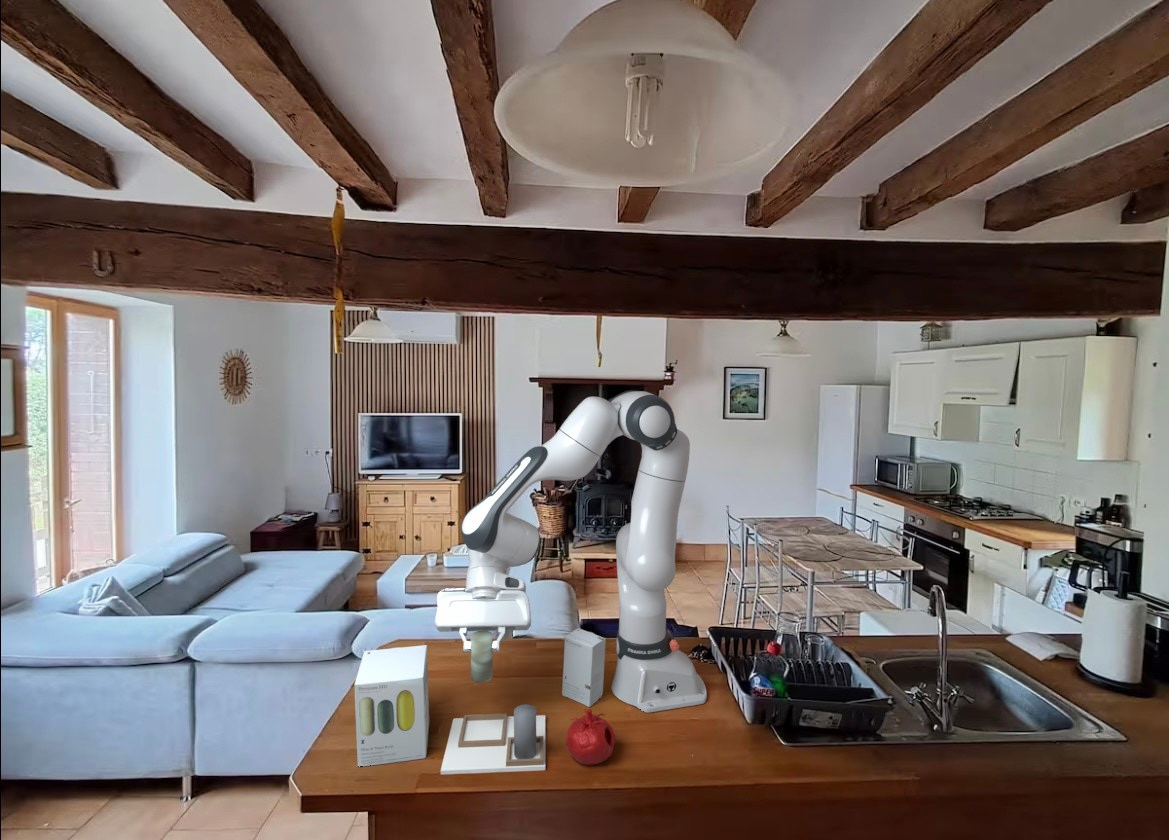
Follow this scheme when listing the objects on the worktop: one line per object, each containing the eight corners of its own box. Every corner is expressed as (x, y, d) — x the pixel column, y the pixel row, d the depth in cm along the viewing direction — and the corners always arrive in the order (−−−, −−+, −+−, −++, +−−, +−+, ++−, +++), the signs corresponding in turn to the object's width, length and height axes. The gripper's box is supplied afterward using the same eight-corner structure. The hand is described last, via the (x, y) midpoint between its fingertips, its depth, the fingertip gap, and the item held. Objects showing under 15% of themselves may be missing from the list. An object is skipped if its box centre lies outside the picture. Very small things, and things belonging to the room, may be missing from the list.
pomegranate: (572, 777, 112) (572, 732, 111) (560, 742, 121) (559, 701, 120) (621, 766, 114) (621, 722, 113) (606, 733, 124) (605, 693, 123)
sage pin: (493, 670, 124) (493, 630, 123) (491, 682, 120) (491, 640, 119) (472, 671, 124) (472, 630, 123) (469, 682, 119) (469, 641, 118)
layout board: (545, 718, 129) (545, 676, 128) (545, 770, 113) (545, 723, 112) (453, 721, 128) (452, 679, 127) (440, 774, 112) (439, 726, 111)
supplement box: (356, 769, 113) (352, 684, 111) (366, 726, 126) (363, 649, 124) (426, 759, 116) (424, 676, 114) (429, 718, 129) (427, 643, 127)
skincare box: (561, 696, 138) (561, 636, 136) (576, 684, 143) (576, 626, 141) (591, 708, 133) (591, 646, 131) (605, 695, 138) (606, 636, 136)
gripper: (436, 581, 126) (427, 647, 117) (531, 580, 127) (530, 645, 119) (440, 593, 131) (432, 657, 122) (531, 591, 132) (530, 655, 124)
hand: (481, 651), depth 120 cm, fingers closed on sage pin, 4 cm apart
